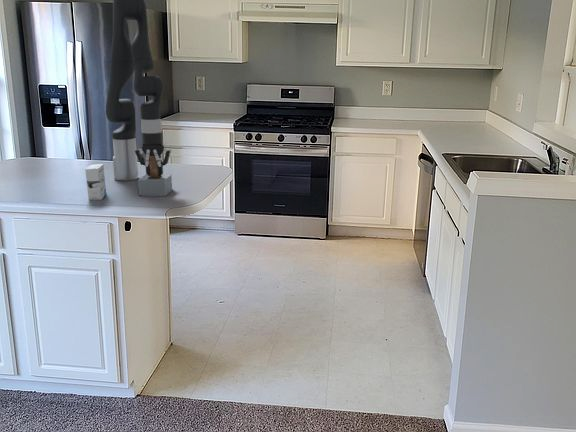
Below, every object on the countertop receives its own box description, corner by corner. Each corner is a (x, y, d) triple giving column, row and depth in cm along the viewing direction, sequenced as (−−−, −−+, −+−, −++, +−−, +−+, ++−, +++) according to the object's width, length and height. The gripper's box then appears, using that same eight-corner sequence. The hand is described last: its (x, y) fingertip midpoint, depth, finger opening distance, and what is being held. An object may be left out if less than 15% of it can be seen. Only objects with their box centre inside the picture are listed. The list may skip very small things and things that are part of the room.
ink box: (93, 194, 216) (90, 163, 212) (106, 193, 216) (104, 163, 212) (87, 200, 207) (84, 168, 204) (101, 199, 208) (98, 168, 204)
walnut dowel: (149, 182, 215) (147, 156, 212) (152, 180, 218) (150, 154, 216) (158, 182, 215) (156, 156, 212) (161, 180, 218) (159, 154, 215)
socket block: (139, 195, 214) (138, 180, 212) (147, 188, 223) (146, 174, 221) (165, 196, 213) (164, 180, 211) (172, 189, 222) (171, 174, 221)
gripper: (129, 132, 208) (133, 177, 213) (167, 132, 207) (170, 178, 212) (136, 129, 215) (139, 173, 220) (173, 129, 214) (175, 173, 219)
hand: (154, 175), depth 216 cm, fingers closed on walnut dowel, 3 cm apart
